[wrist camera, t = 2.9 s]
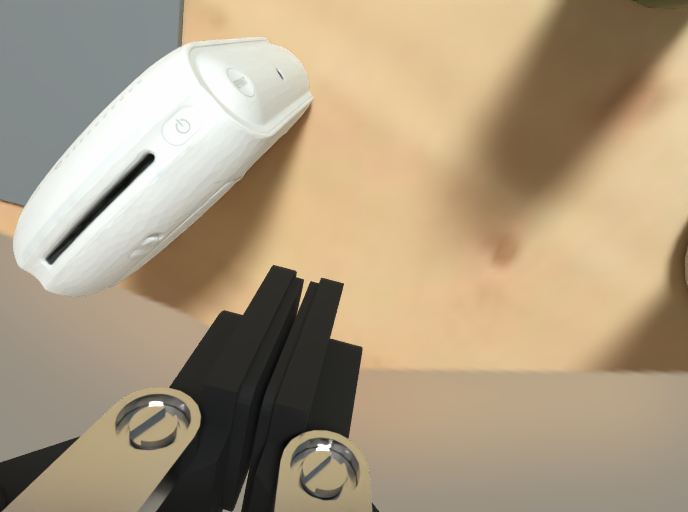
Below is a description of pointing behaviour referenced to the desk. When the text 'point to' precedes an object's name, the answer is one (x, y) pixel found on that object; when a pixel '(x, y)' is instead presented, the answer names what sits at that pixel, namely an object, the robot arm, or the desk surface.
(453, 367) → the desk surface
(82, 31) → the felt mat
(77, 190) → the photo printer
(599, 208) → the desk surface
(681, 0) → the beer can
